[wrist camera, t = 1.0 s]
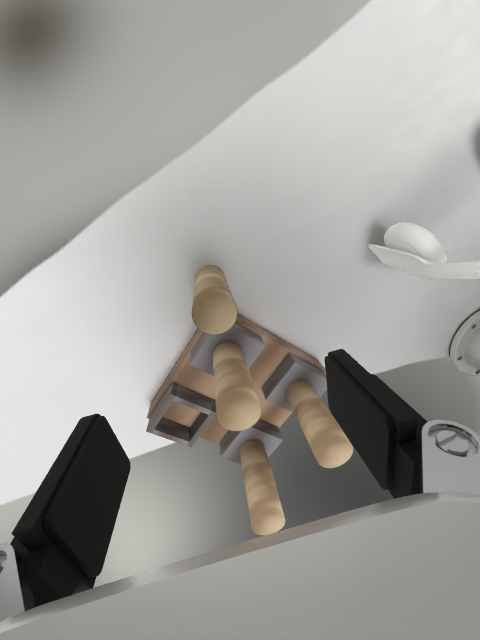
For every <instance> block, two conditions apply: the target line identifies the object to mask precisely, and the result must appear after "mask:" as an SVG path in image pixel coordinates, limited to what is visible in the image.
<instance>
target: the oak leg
mask: <svg viewBox="0 0 480 640" xmlns="http://www.w3.org/2000/svg"><path fill="white" fill-rule="evenodd" d="M192 318H193V321H194V323H195V325H196V326H197V327H198V328H199V329H200V330H201V331H203V332H205V333H208V334H221V333H224V332H226V331H227V330H229V329H230V328H231V327H232V326H233V325H234V323H235V321H236V318H237V308H236V305H235V303H234V300H233V298H232V295H231V292H230V290H229V287H228V285H227V282H226V280H225V277H224V275H223V273H222V271H221V270H220V269H219V268H217V267H215V266H205V267H203V268H201V269H200V270H199V271H198V272H197V274H196V278H195V288H194V297H193V307H192Z"/></svg>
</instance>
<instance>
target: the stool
mask: <svg viewBox="0 0 480 640" xmlns="http://www.w3.org/2000/svg"><path fill="white" fill-rule="evenodd" d="M325 372H326V369H325V368H324V367H323V366H322V365H321V363H320V362H319V361H318V360H317V359H315V358H313V357H312V356H310V355H308V354H306V353H305V352H303V351H301V350H299V349H298V348H296V347H294V346H292V345H291V344H289V343H287V342H286V341H284V340H282V339H280V338H279V337H277V336H275V335H273V334H272V333H270V332H268V331H266V330H265V329H263V328H261V327H259V326H258V325H256V324H254V323H252V322H251V321H249V320H247V319H245V318H244V317H242V316H240V315H238V314H237V318H236V321H235V323H234V325H233V326H232V327H231V328H230V329H229V330H227V331H226V332H224V333H221V334H208V333H205V332H203V331H201V330H200V329H199V328H198V330H197V331H196V333H195V335H194V336H193V338H192V339H191V341H190V342H189V344H188V346H187V347H186V349H185V350H184V352H183V353H182V355H181V357H180V358H179V360H178V361H177V363H176V364H175V366H174V368H173V369H172V371H171V372H170V374H169V375H168V377H167V378H166V380H165V382H164V383H163V385H162V386H161V388H160V389H159V391H158V393H157V394H156V396H155V397H154V399H153V400H152V402H151V405H150V408H149V412H148V416H147V418H149V423H148V427H147V430H146V431H147V432H149V433H152V434H155V435H158V436H161V437H164V438H167V439H170V440H173V441H175V442H178V443H181V444H185V445H187V446H190V447H192V446H193V444H194V443H195V442H196V440H197V439H198V437H201V438H204V439H207V440H209V441H212V442H215V443H218V444H220V455H221V457H222V458H225V459H227V460H230V461H233V462H237V463H239V464H242V470H243V476H244V481H245V488H246V494H247V501H248V506H249V513H250V519H251V525H252V530H253V531H254V532H255V533H256V534H259V535H269V534H272V533H275V532H277V531H279V530H280V529H281V528H282V527H283V526H284V524H285V518H284V514H283V511H282V507H281V503H280V500H279V497H278V493H277V489H276V485H275V482H274V478H273V474H272V471H271V467H270V464H269V460H268V457H269V456H270V455H271V454H272V452H273V451H274V450H275V449H276V448H277V446H278V445H279V444H280V443H281V442H282V441H283V439H282V436H281V433H280V431H279V427H280V426H281V425H282V424H283V423H284V421H285V420H286V419H287V418H288V417H289V415H290V414H291V413H292V412H293V413H295V415H296V417H297V419H298V422H299V424H300V426H301V428H302V430H303V432H304V434H305V436H306V438H307V440H308V443H309V445H310V447H311V449H312V451H313V453H314V455H315V457H316V459H317V462H318V463H319V464H320V465H321V466H323V467H325V468H334V467H337V466H340V465H342V464H343V463H345V462H346V461H347V460H348V459H349V458H350V457H351V455H352V453H353V447H352V445H351V443H350V442H349V440H348V439H347V438H346V436H345V434H344V433H343V431H342V430H341V428H340V427H339V425H338V424H337V422H336V421H335V419H334V418H333V416H332V415H331V413H330V412H329V410H328V409H327V407H326V405H325V404H324V403H323V401H322V400H321V398H320V396H321V395H322V394H323V393H324V392H325V390H326V389H327V381H326V374H325Z"/></svg>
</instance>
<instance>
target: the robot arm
mask: <svg viewBox="0 0 480 640" xmlns="http://www.w3.org/2000/svg"><path fill="white" fill-rule="evenodd" d="M450 358H451V362H452V364H453V366H454V367H455V368H456V369H458V370H459V371H461V372H463V373H465V374H467V375H473V376H475V375H480V311H478V312H476V313H475V314H474V315H472V316H471V317H470V318H469V319H468V320H467V321H466V322H465V323H464V324H463V325H462V326H461V327H460V329H459V330H458V331H457V333H456V335H455V337H454V339H453V341H452V344H451V348H450ZM325 369H326V381H327V392H328V404H329V409H330V411H331V413H332V415H333V416H334V418H335V419H336V421H337V422H338V424H339V425H340V427H341V428H342V429H343V431H344V433H345V434H346V436H347V437H348V439H349V440H350V442H351V443H352V444H353V446H354V447H355V449H356V450H357V452H358V453H359V455H360V456H361V458H362V459H363V461H364V462H365V464H366V465H367V467H368V468H369V470H370V471H371V473H372V474H373V476H374V477H375V479H376V480H377V482H378V483H379V484H380V486H381V487H382V488H383V489H384V490H386V489H388V490H389V492H390V493H391V494H392V496H393V497H394V499H391V500H387V501H384V502H380V503H377V504H373V505H370V506H365V507H362V508H358V509H355V510H351V511H347V512H344V513H340V514H337V515H334V516H330V517H327V518H323V519H320V520H317V521H313V522H310V523H307V524H303V525H300V526H297V527H293V528H290V529H286V530H283V531H279V532H276V533H272V534H269V535H266V536H262V537H259V538H256V539H253V540H249V541H246V542H243V543H239V544H236V545H232V546H229V547H226V548H223V549H219V550H216V551H213V552H209V553H206V554H203V555H199V556H196V557H193V558H190V559H186V560H183V561H180V562H176V563H173V564H170V565H167V566H163V567H160V568H157V569H154V570H150V571H147V572H144V573H141V574H138V575H134V576H131V577H128V578H124V579H121V580H118V581H115V582H111V583H108V584H105V585H102V586H98V587H95V588H93V586H94V583H95V579H96V576H98V575H99V574H100V573H101V571H102V568H103V564H104V561H105V557H106V554H107V550H108V546H109V543H110V540H111V536H112V532H113V529H114V525H115V522H116V518H117V515H118V511H119V508H120V503H121V500H122V497H123V493H124V490H125V486H126V483H127V479H128V475H129V472H130V461H129V459H128V457H127V455H126V453H125V451H124V450H123V448H122V446H121V444H120V443H119V441H118V439H117V437H116V435H115V434H114V432H113V430H112V428H111V427H110V425H109V423H108V421H107V420H106V418H105V417H104V416H101V415H99V414H94V415H90V416H86V417H83V418H81V419H80V420H79V422H78V424H77V425H76V427H75V429H74V430H73V432H72V434H71V435H70V437H69V439H68V440H67V442H66V444H65V445H64V447H63V449H62V450H61V452H60V454H59V455H58V457H57V459H56V460H55V462H54V464H53V465H52V467H51V469H50V470H49V472H48V474H47V475H46V477H45V479H44V480H43V482H42V484H41V485H40V487H39V489H38V490H37V492H36V494H35V495H34V497H33V499H32V500H31V502H30V504H29V505H28V507H27V509H26V510H25V512H24V514H23V515H22V517H21V519H20V520H19V522H18V524H17V525H16V527H15V529H14V530H13V532H12V534H13V535H14V536H15V537H14V538H13V540H12V542H11V544H6V543H5V544H0V640H480V436H479V435H478V434H477V433H475V432H474V431H472V430H471V429H469V428H467V427H466V426H464V425H461V424H459V423H456V422H453V421H447V420H432V421H430V422H427V421H426V420H425V419H424V418H423V417H421V415H419V414H418V413H417V412H416V411H415V410H414V409H413V408H412V407H410V406H409V405H408V404H407V403H406V402H405V401H404V400H403V399H401V398H400V397H399V396H398V395H397V394H396V393H395V392H394V391H392V390H391V389H390V388H389V387H388V386H387V385H386V384H385V383H384V382H383V381H381V380H380V379H379V378H378V377H377V376H375V375H373V374H370V373H369V372H368V371H366V370H365V369H364V368H363V367H362V366H361V365H360V364H359V363H358V362H357V361H356V360H354V359H353V358H352V357H351V356H350V355H349V354H348V353H347V352H346V351H345V350H343V349H339V350H335V351H332V352H329V353H328V356H326V357H325ZM404 496H405V497H404Z"/></svg>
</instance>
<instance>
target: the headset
mask: <svg viewBox="0 0 480 640" xmlns="http://www.w3.org/2000/svg"><path fill="white" fill-rule="evenodd" d="M384 243H385V246H386V247H383V246H379V245H374V244H368V245H367V246H368V247H369V248H370V249H371V251H372V252H373V253H374V254H375V255H376V256H377V257H378V258H379V259H380V260H381V261H382V262H383V263H384V264H386V265H388V266H391V267H394V268H396V269H399V270H401V271H404V272H407V273H410V274H412V275H415V276H418V277H420V278H423V279H426V280H432V279H434V278H439V279H480V261H469V262H446V261H447V253H446V250H445V248H444V246H443V245H442V243H441V242H440V241H439V240H438V239H437V238H436V237H435V236H434V235H433V234H432V233H431V232H429V231H428V230H426V229H425V228H423V227H421V226H419V225H416V224H413V223H408V222H401V223H397V224H395V225H393V226H391V227H390V228H389V229H388V230H387V231H386V233H385V235H384Z"/></svg>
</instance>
